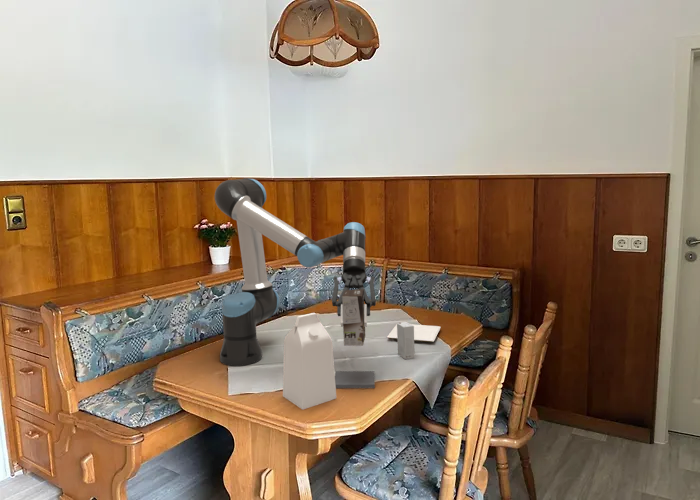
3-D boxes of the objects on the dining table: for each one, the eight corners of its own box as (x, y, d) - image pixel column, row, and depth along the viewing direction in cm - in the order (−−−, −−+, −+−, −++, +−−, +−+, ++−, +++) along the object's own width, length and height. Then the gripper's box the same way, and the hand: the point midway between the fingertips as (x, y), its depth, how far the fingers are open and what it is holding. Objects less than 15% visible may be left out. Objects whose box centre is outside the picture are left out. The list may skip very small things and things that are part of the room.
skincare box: (415, 358, 197) (415, 325, 195) (403, 359, 196) (403, 327, 193) (407, 352, 203) (407, 321, 201) (396, 354, 201) (396, 322, 199)
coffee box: (363, 346, 170) (362, 295, 168) (343, 346, 171) (341, 296, 168) (366, 336, 179) (364, 288, 176) (346, 336, 180) (344, 288, 177)
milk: (315, 386, 174) (313, 307, 170) (336, 398, 165) (334, 315, 161) (282, 396, 167) (279, 314, 163) (302, 409, 158) (299, 323, 154)
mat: (335, 374, 183) (335, 371, 183) (374, 374, 183) (374, 371, 183) (333, 388, 173) (333, 384, 172) (374, 388, 172) (374, 384, 172)
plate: (386, 341, 216) (386, 336, 215) (397, 327, 233) (397, 322, 233) (433, 345, 210) (433, 340, 210) (440, 331, 228) (440, 326, 227)
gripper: (383, 269, 186) (384, 329, 173) (325, 269, 187) (323, 330, 174) (383, 256, 180) (385, 318, 167) (324, 257, 181) (321, 319, 168)
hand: (353, 324), depth 171 cm, fingers closed on coffee box, 7 cm apart
